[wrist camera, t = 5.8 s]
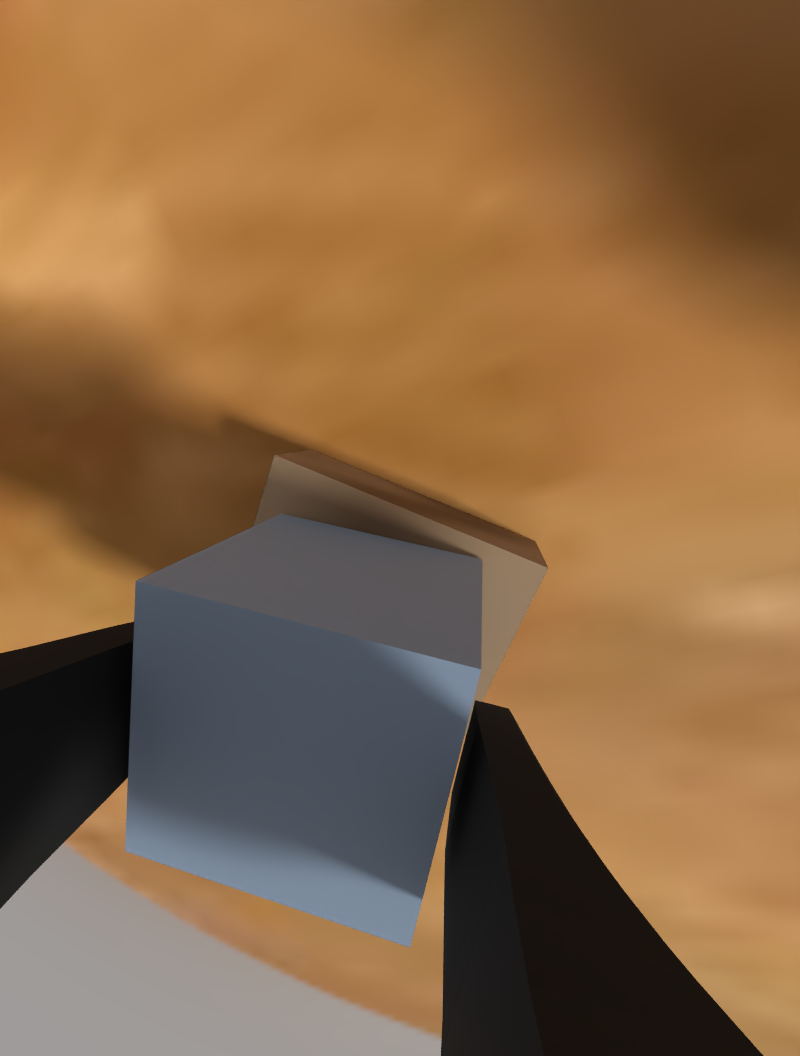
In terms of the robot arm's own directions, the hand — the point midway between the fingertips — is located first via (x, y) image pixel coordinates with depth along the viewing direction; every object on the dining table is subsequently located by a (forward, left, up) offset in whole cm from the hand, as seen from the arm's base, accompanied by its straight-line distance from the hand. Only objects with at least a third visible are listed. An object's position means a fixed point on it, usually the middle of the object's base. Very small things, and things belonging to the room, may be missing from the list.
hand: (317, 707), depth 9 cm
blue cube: (0, 0, -3) cm, 3 cm away
